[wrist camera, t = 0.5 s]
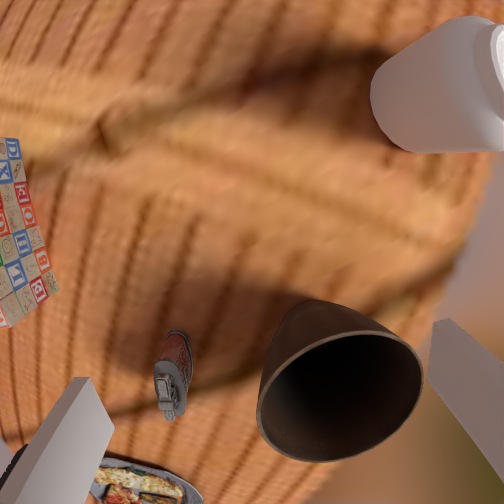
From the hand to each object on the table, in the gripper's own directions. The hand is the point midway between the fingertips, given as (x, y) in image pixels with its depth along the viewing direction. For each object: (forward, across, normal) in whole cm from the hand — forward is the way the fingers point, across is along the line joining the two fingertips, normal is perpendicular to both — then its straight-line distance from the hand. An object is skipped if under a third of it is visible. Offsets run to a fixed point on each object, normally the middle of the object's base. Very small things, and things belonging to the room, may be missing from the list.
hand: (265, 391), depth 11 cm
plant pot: (+27, +6, -12) cm, 30 cm away
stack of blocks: (+27, -30, +8) cm, 41 cm away
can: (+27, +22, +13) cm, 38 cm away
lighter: (+27, -11, -14) cm, 32 cm away
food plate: (+27, -29, -45) cm, 60 cm away
